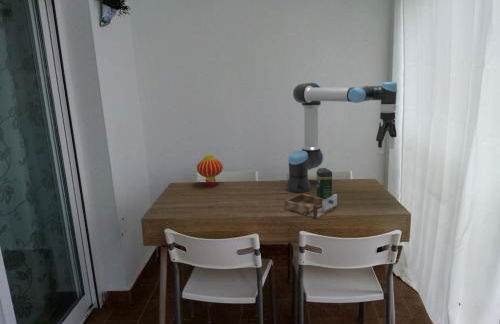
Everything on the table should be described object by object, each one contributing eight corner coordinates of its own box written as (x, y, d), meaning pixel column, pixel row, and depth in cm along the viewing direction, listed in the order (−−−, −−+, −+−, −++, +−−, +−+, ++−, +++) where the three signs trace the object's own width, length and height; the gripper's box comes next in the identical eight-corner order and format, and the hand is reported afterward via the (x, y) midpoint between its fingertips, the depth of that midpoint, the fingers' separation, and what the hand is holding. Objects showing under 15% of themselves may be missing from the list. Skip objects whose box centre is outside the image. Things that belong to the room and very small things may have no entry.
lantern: (199, 190, 233) (196, 144, 225) (197, 183, 249) (193, 140, 242) (225, 187, 236) (223, 142, 229) (221, 180, 253) (218, 138, 246)
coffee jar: (333, 202, 202) (334, 170, 197) (320, 204, 201) (320, 171, 197) (327, 197, 211) (328, 166, 207) (314, 198, 210) (314, 167, 206)
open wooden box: (284, 209, 195) (284, 198, 194) (301, 201, 206) (301, 190, 204) (316, 218, 181) (316, 206, 180) (332, 209, 192) (333, 198, 190)
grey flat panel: (322, 211, 187) (322, 200, 185) (335, 204, 196) (335, 193, 194) (325, 212, 185) (325, 201, 184) (338, 205, 194) (339, 194, 193)
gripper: (384, 114, 181) (382, 156, 186) (404, 109, 198) (402, 147, 203) (370, 114, 186) (368, 154, 191) (390, 109, 203) (388, 146, 208)
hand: (385, 151), depth 197 cm, fingers open, 13 cm apart
